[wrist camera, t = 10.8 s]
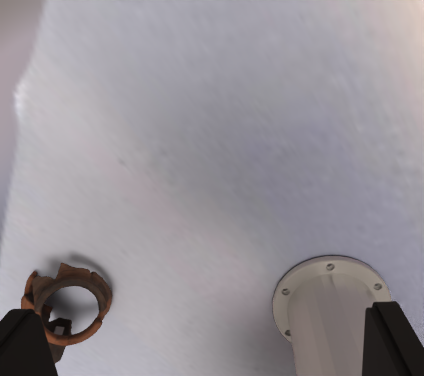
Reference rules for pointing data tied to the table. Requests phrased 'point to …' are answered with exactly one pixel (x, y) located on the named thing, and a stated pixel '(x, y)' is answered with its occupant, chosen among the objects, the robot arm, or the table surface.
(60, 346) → the brown curved loop
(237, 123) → the table surface
